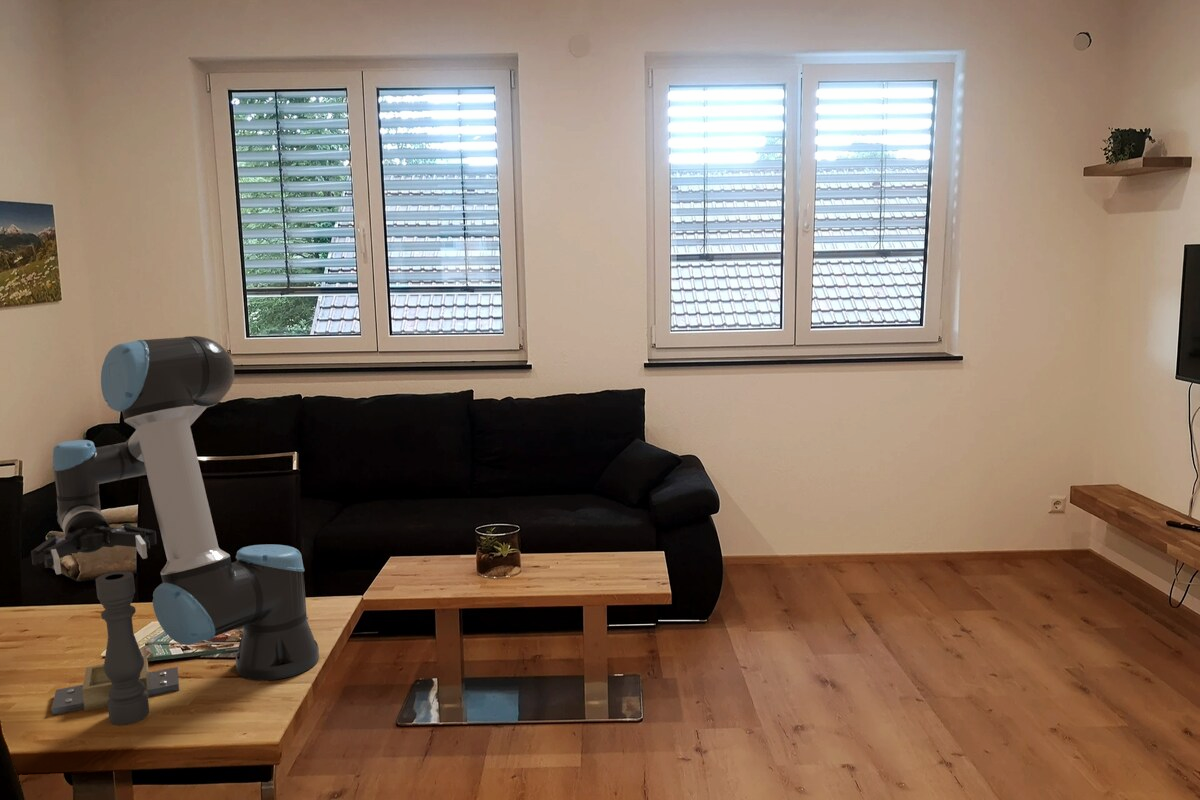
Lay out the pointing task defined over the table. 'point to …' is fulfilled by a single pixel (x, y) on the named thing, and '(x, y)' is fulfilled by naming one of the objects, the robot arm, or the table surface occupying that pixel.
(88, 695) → the square socket fixture
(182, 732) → the table surface
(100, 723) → the table surface
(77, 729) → the table surface
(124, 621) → the candle holder
